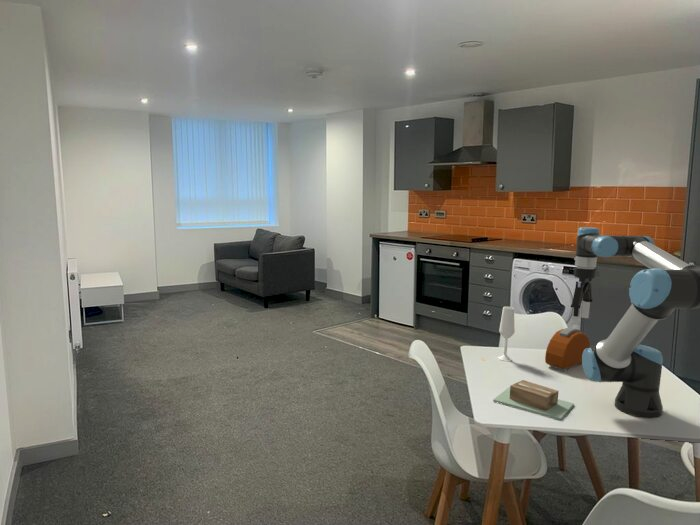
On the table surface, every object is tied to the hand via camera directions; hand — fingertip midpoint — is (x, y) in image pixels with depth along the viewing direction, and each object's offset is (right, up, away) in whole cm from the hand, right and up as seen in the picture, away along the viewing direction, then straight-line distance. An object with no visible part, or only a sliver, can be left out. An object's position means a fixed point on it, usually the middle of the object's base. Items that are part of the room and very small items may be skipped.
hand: (580, 321), depth 208 cm
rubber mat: (-23, -29, -14) cm, 39 cm away
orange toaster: (+7, -23, +30) cm, 38 cm away
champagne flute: (-19, -21, +35) cm, 46 cm away
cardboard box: (-23, -28, -14) cm, 39 cm away
